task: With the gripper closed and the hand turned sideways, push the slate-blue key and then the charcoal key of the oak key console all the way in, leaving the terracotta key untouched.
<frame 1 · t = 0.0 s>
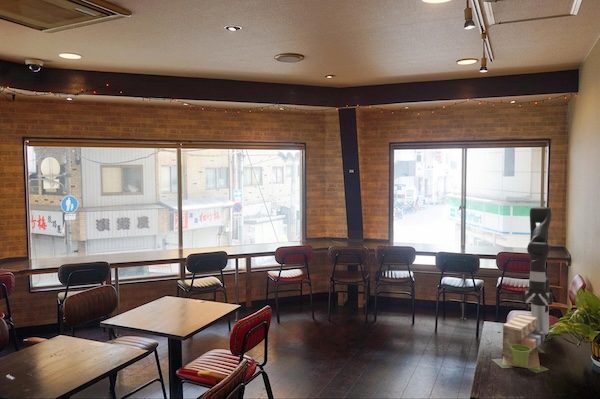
hand: (536, 311, 248), 22 cm above the table, tool pointing down, fingers open, 8 cm apart
plant pot: (520, 365, 235), on the table
key slate: (533, 339, 247), point 8 cm above the table, slide at 0.0 cm
key charcoal: (537, 335, 253), point 8 cm above the table, slide at 0.0 cm
console: (526, 352, 250), on the table
key terracotta: (528, 343, 242), point 8 cm above the table, slide at 0.0 cm
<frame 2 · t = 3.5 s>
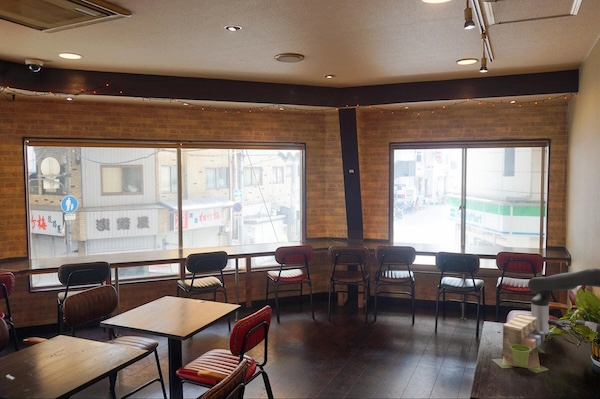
hand: (548, 321, 242), 19 cm above the table, tool horizontal, fingers closed
nothing on the table moved.
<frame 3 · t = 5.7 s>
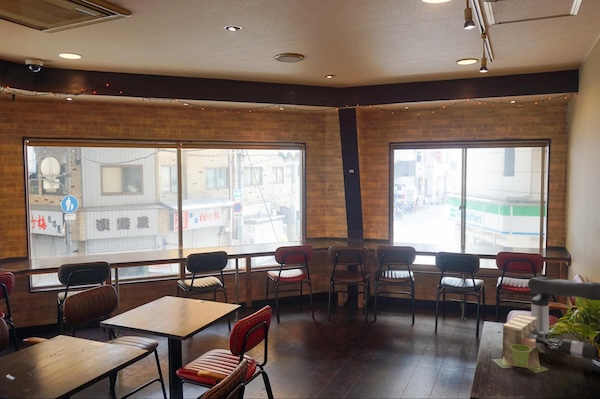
hand: (536, 339, 247), 8 cm above the table, tool horizontal, fingers closed
key slate: (530, 338, 249), point 8 cm above the table, slide at 1.6 cm, touching gripper
everything else where it was.
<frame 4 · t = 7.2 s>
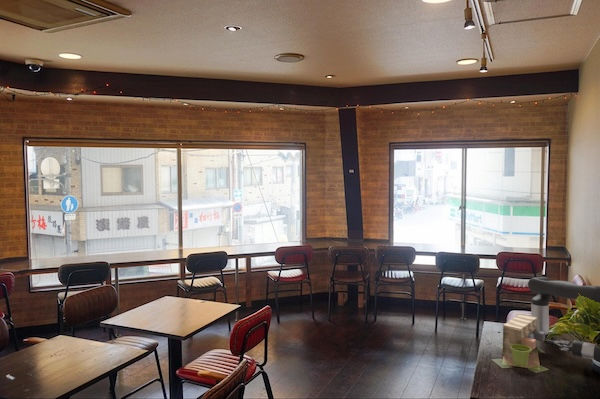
hand: (546, 341, 243), 8 cm above the table, tool horizontal, fingers closed
key slate: (526, 337, 250), point 8 cm above the table, slide at 3.4 cm
everything else where it was.
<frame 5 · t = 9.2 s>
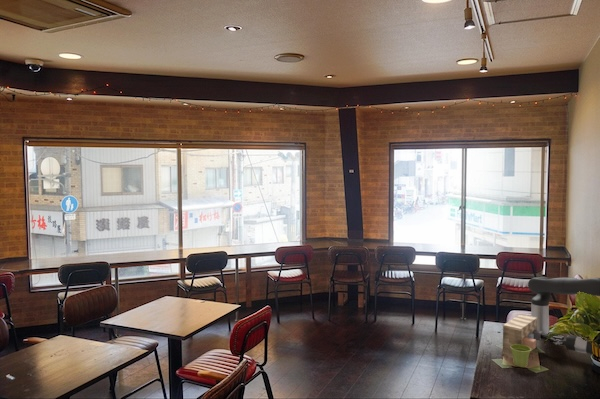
hand: (540, 336, 252), 8 cm above the table, tool horizontal, fingers closed
key charcoal: (534, 334, 254), point 8 cm above the table, slide at 1.5 cm, touching gripper
everything else where it was.
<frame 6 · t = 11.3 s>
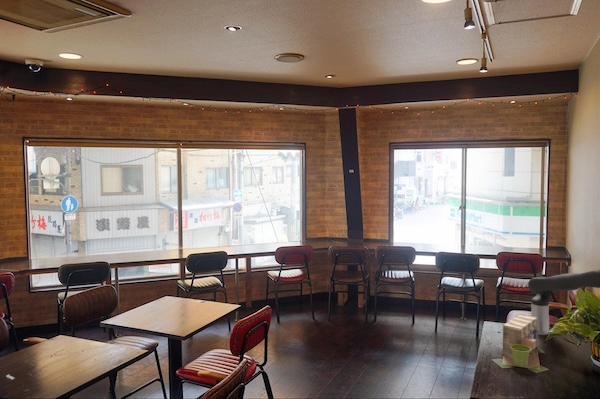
hand: (550, 325, 248), 15 cm above the table, tool horizontal, fingers closed
key charcoal: (531, 334, 255), point 8 cm above the table, slide at 3.4 cm
everything else where it was.
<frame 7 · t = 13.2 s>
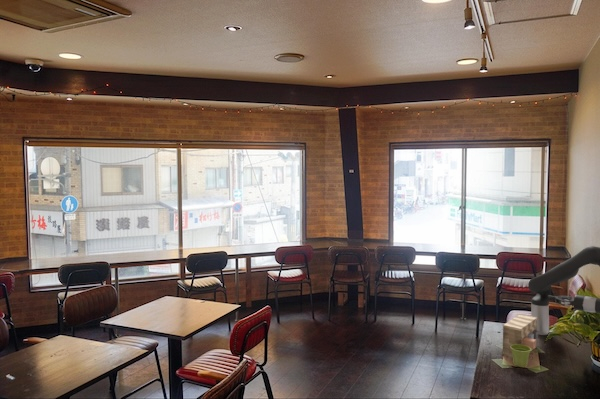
hand: (548, 297, 246), 30 cm above the table, tool horizontal, fingers closed
nothing on the table moved.
at the end: key slate slide at 3.4 cm; key charcoal slide at 3.4 cm; key terracotta slide at 0.0 cm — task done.
